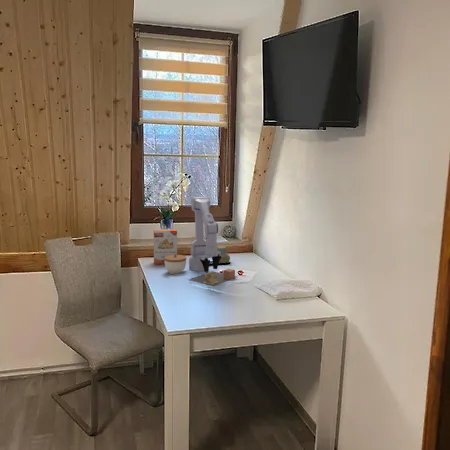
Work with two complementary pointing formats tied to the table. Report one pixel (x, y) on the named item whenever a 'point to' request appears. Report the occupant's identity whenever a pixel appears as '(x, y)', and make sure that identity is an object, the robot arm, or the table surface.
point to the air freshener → (223, 254)
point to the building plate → (202, 280)
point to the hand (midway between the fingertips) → (210, 270)
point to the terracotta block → (229, 274)
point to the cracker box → (164, 244)
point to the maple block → (211, 277)
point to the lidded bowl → (175, 263)
